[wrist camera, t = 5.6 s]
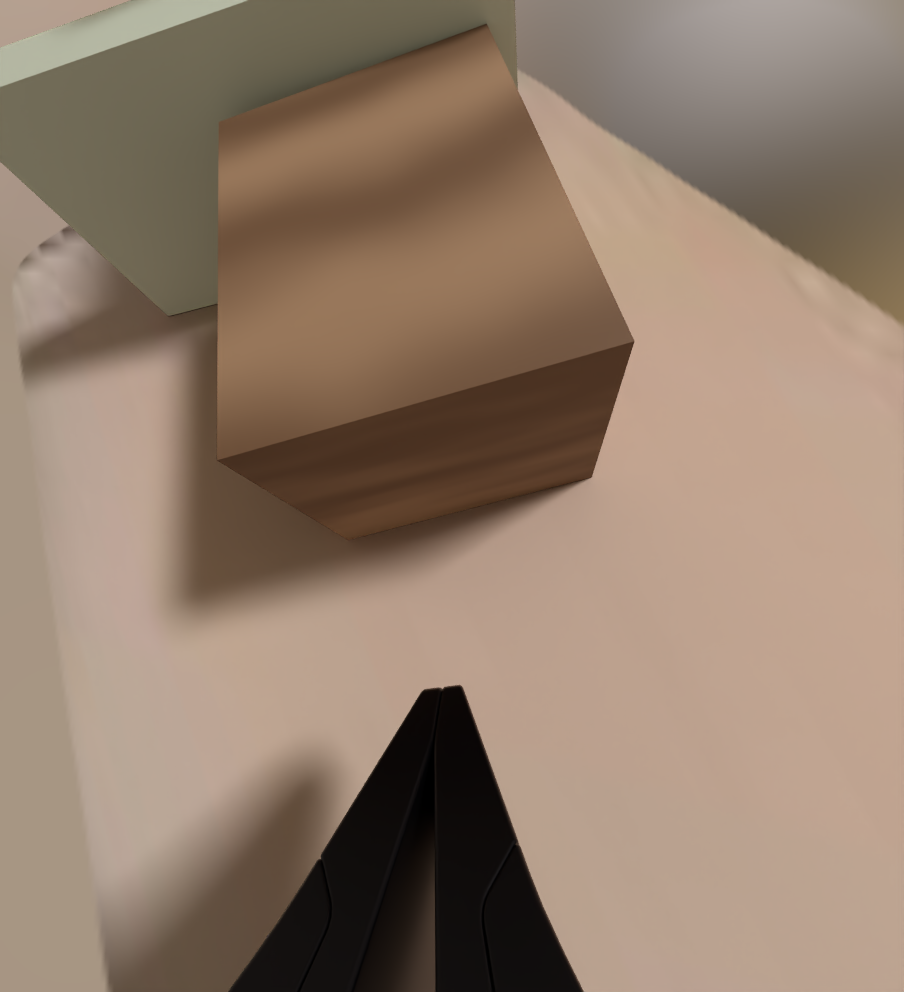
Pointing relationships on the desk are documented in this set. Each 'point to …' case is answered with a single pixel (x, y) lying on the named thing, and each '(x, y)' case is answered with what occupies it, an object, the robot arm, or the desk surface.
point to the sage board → (186, 111)
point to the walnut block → (407, 297)
